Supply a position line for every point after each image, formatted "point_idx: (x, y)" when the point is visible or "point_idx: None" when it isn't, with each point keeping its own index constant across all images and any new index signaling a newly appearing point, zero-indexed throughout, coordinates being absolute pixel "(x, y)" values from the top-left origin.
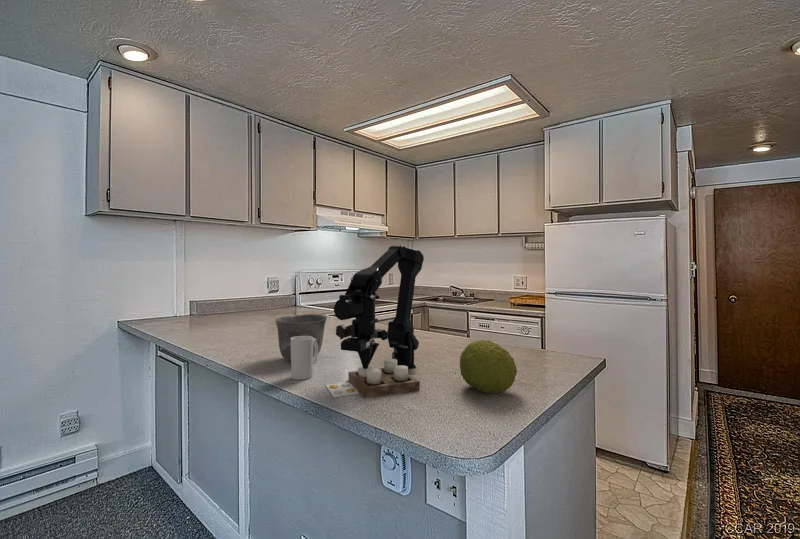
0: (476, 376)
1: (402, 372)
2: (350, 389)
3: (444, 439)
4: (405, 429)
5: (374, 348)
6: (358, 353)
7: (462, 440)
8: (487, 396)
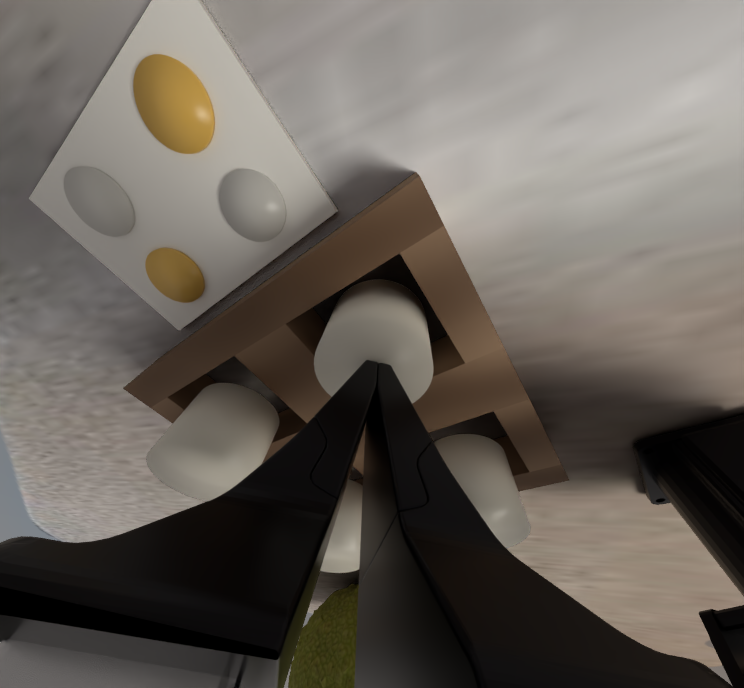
0: (302, 643)
1: None
2: (186, 274)
3: (76, 519)
4: (50, 475)
5: (356, 653)
6: (258, 471)
7: (97, 535)
8: (334, 580)
